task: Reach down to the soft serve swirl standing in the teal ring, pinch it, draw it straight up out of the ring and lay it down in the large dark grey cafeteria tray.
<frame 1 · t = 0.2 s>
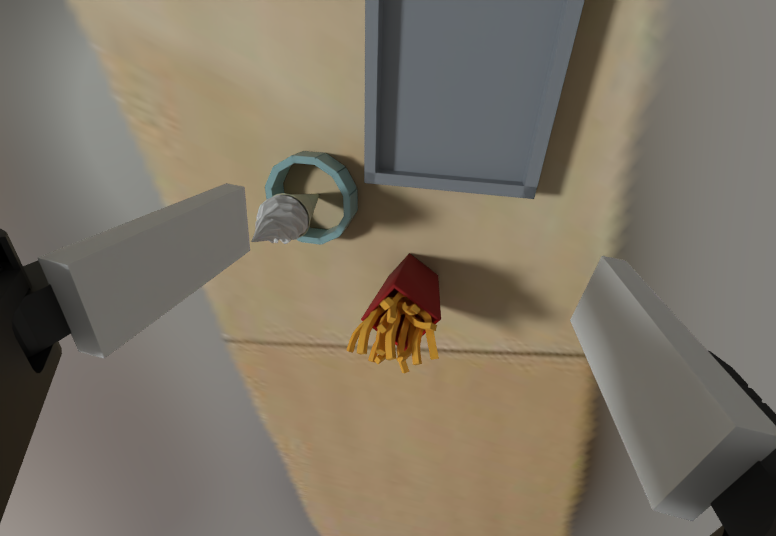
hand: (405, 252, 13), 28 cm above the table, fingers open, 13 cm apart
french fries: (412, 283, 46), on the table
soft serve swirl: (317, 195, 43), resting in teal ring
tray: (464, 48, 32), on the table
teal ring: (317, 195, 43), on the table
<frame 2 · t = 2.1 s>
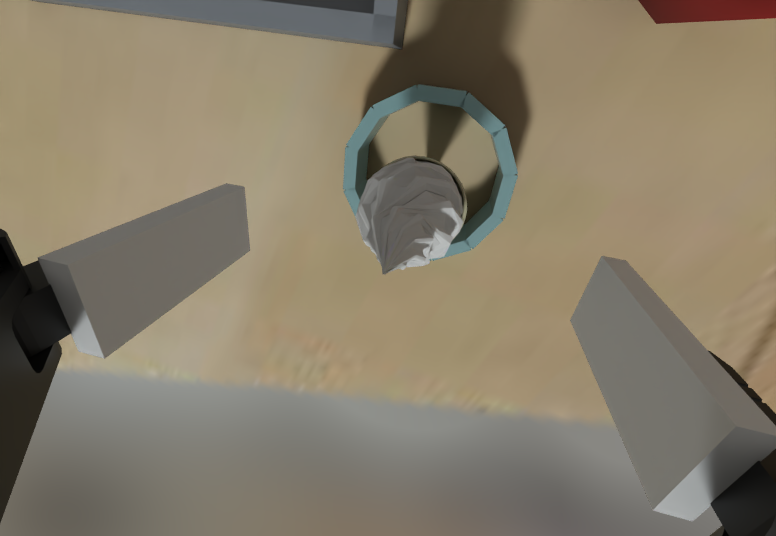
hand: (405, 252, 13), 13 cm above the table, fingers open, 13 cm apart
soft serve swirl: (429, 171, 24), resting in teal ring
teal ring: (429, 172, 24), on the table
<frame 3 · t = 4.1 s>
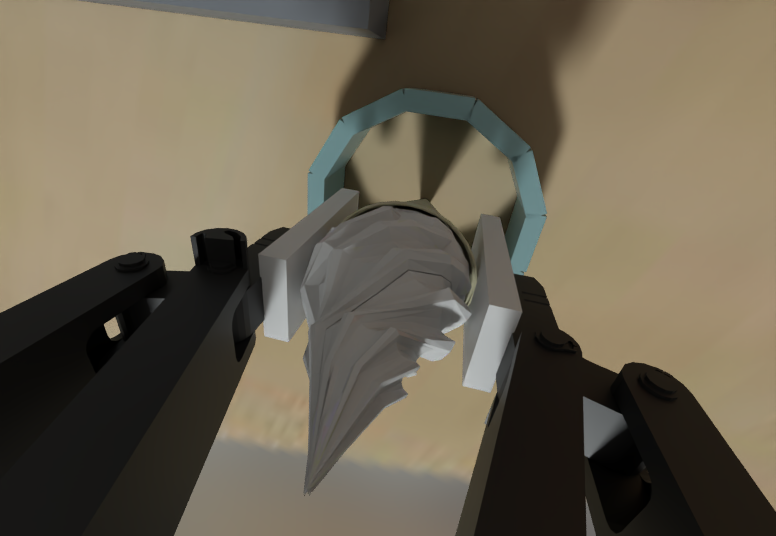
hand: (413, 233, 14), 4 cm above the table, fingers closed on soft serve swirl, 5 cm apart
soft serve swirl: (424, 202, 18), resting in teal ring, touching gripper
teal ring: (424, 203, 18), on the table
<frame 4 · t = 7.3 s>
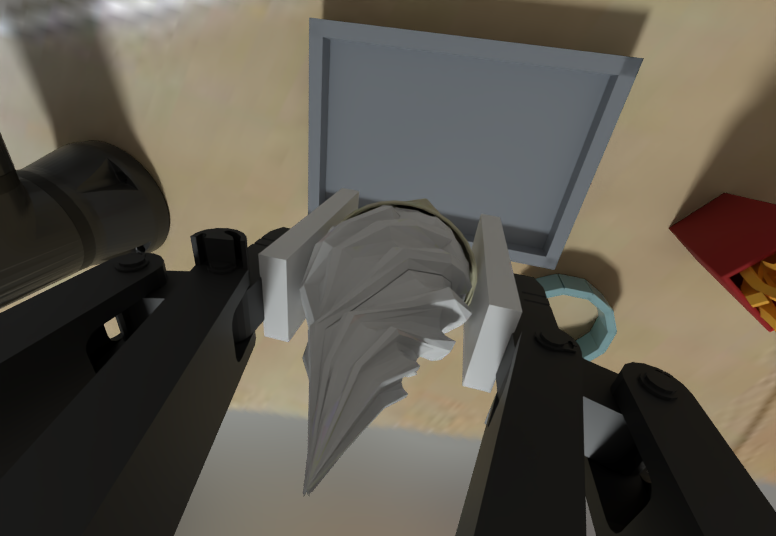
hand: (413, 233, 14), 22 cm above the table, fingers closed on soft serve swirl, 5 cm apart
french fries: (724, 229, 32), on the table
soft serve swirl: (424, 201, 18), point 18 cm above the table, touching gripper
tray: (445, 150, 33), on the table
teal ring: (553, 315, 39), on the table
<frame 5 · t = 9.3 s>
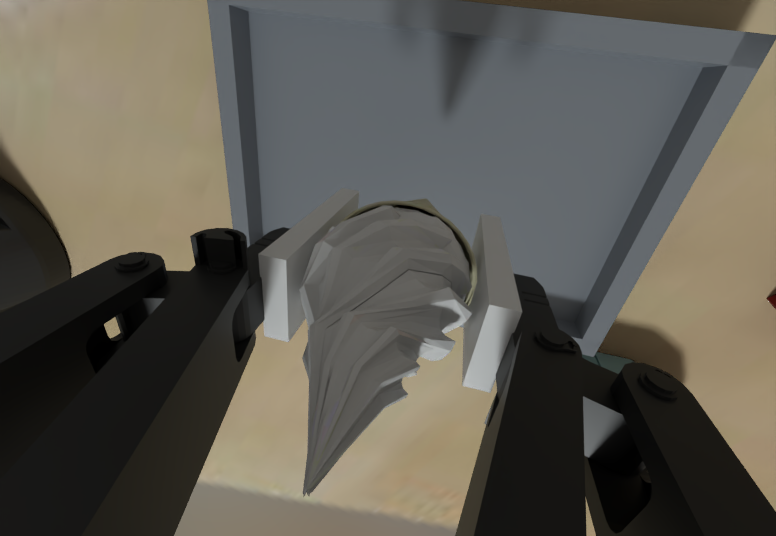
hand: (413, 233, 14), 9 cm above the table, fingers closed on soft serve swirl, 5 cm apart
soft serve swirl: (424, 201, 18), point 5 cm above the table, touching gripper
tray: (431, 180, 22), on the table
teal ring: (584, 401, 28), on the table
when the fingers open (7 cm above the table, at t = 10.6 s): soft serve swirl drops 1 cm, resting on tray.
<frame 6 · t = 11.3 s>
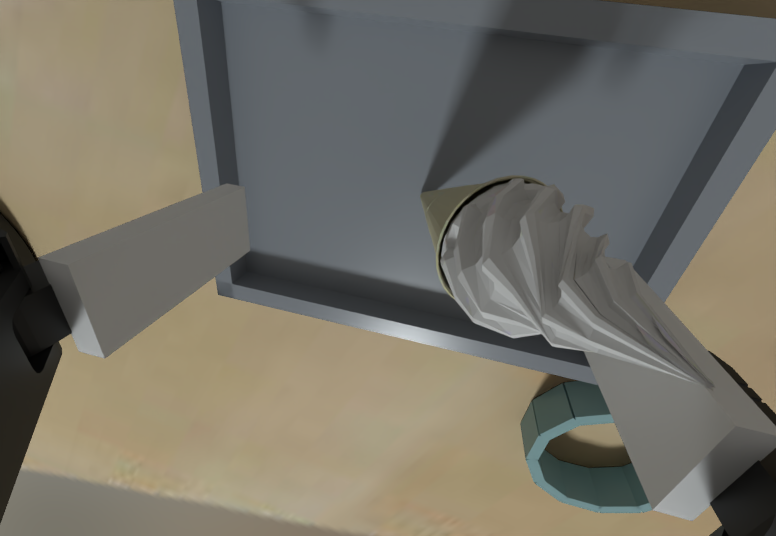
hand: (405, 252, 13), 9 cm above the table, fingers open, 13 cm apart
soft serve swirl: (422, 195, 19), point 1 cm above the table, touching gripper, tray
tray: (429, 191, 20), on the table
teal ring: (596, 430, 26), on the table
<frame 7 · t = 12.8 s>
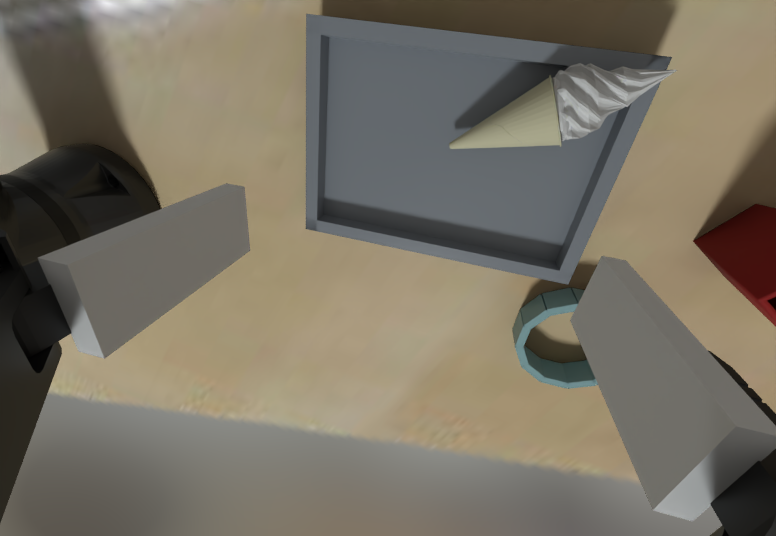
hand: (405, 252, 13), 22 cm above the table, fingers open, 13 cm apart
french fries: (754, 243, 29), on the table
soft serve swirl: (447, 146, 28), point 3 cm above the table, touching tray
tray: (451, 155, 31), on the table
teal ring: (565, 330, 37), on the table
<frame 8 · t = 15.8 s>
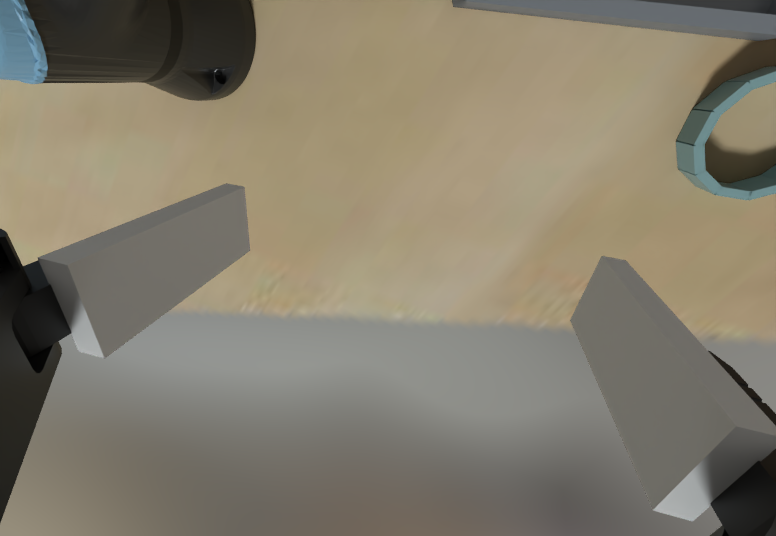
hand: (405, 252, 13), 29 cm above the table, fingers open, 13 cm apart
teal ring: (744, 134, 32), on the table
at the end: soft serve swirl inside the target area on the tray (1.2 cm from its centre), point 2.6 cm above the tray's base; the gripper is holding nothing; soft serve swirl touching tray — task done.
